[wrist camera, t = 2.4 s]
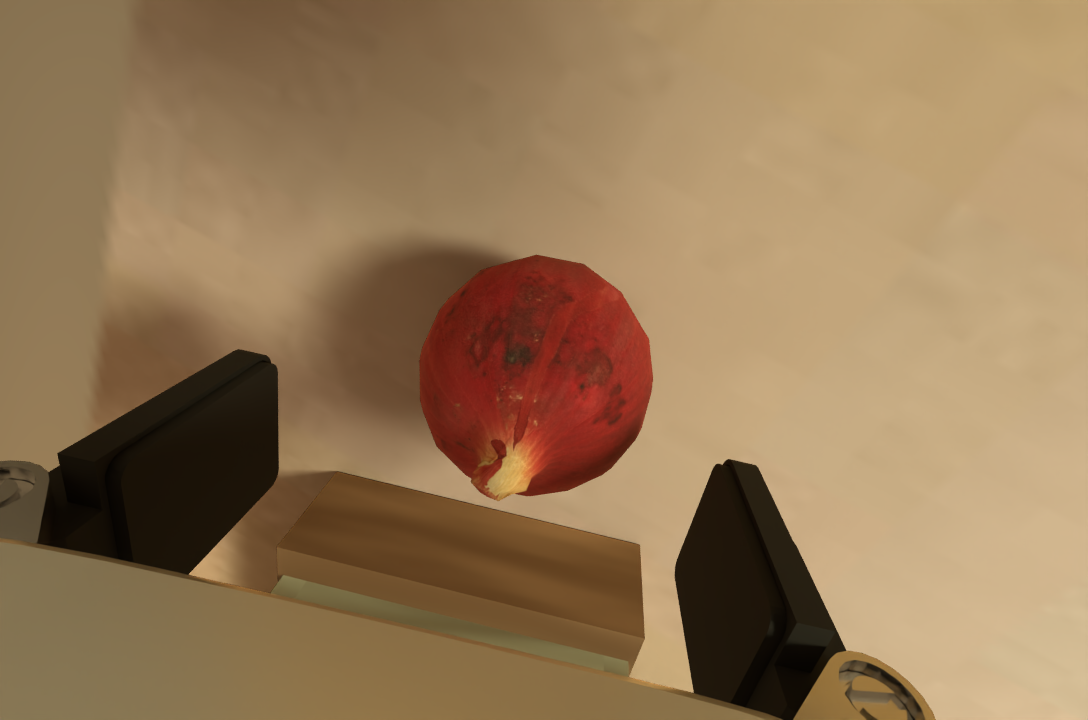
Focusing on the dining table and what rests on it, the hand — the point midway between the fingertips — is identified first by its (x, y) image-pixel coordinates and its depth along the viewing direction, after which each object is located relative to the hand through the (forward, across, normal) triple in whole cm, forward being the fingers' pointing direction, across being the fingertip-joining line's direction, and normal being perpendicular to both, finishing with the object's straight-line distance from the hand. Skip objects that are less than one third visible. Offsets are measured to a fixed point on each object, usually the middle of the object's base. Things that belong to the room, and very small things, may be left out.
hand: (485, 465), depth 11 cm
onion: (+7, -1, -1) cm, 7 cm away
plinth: (+7, 0, +14) cm, 16 cm away
